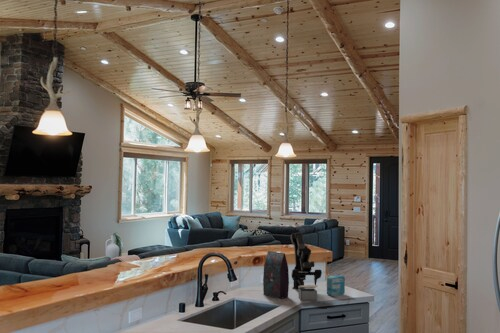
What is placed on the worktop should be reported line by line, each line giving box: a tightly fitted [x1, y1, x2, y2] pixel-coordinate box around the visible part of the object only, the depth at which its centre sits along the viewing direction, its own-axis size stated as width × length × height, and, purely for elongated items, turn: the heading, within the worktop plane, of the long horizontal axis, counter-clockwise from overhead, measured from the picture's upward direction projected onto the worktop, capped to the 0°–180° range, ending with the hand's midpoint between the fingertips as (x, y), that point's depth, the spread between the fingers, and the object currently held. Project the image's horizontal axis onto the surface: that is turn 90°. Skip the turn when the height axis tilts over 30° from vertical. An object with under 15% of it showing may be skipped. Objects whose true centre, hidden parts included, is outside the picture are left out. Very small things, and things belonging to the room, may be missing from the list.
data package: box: [326, 274, 346, 297], centre depth 294 cm, size 12×4×12 cm, turn 124°
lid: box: [298, 284, 318, 289], centre depth 280 cm, size 8×10×1 cm
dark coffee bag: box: [262, 250, 290, 300], centre depth 289 cm, size 8×16×28 cm, turn 41°
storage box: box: [298, 288, 318, 302], centre depth 280 cm, size 8×10×6 cm
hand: (308, 285), depth 278 cm, fingers open, 9 cm apart
